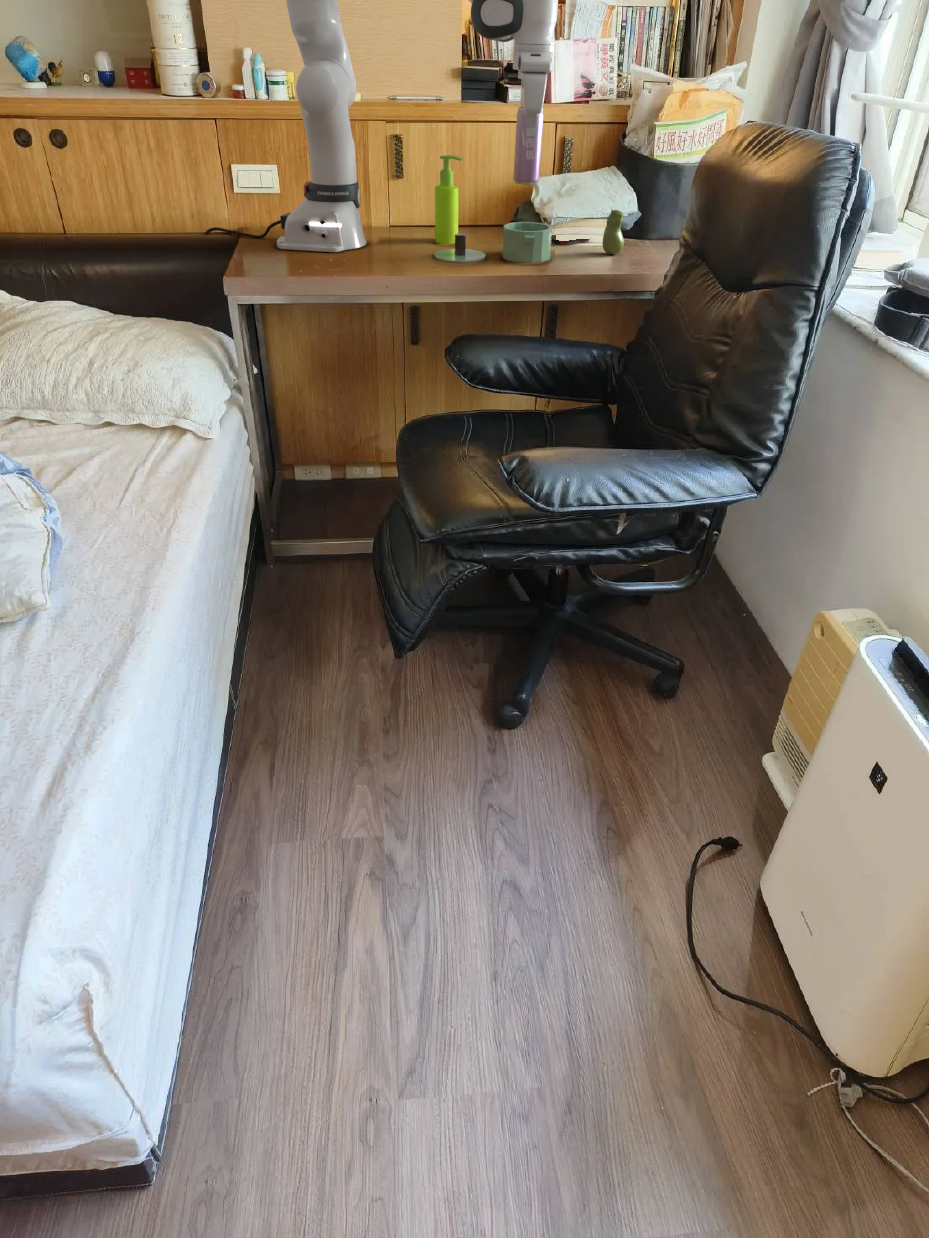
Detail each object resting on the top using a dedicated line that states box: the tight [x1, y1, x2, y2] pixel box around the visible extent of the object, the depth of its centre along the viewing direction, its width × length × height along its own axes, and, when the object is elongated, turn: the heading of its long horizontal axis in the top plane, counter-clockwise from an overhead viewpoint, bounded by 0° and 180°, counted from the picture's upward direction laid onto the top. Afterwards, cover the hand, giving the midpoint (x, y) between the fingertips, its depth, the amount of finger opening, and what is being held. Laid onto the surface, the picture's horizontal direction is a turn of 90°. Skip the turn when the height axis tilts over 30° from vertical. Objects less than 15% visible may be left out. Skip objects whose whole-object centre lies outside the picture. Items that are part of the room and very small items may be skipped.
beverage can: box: [512, 106, 545, 186], centre depth 188 cm, size 6×6×15 cm
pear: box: [601, 209, 625, 255], centre depth 203 cm, size 6×5×10 cm
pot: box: [501, 221, 553, 264], centre depth 198 cm, size 11×17×7 cm
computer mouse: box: [551, 238, 591, 246], centre depth 216 cm, size 6×11×4 cm, turn 122°
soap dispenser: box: [434, 154, 464, 245], centre depth 207 cm, size 6×7×20 cm
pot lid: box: [433, 232, 487, 264], centre depth 197 cm, size 12×12×6 cm
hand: (528, 134), depth 186 cm, fingers closed on beverage can, 6 cm apart
